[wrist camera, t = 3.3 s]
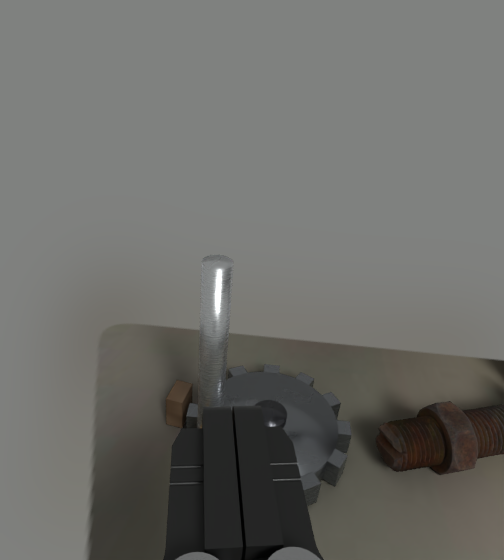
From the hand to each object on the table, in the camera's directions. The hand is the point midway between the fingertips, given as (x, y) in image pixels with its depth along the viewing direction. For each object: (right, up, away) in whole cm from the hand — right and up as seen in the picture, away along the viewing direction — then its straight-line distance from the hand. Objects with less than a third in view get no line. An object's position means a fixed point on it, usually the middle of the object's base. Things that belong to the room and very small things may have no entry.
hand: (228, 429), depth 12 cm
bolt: (+17, -9, +21) cm, 28 cm away
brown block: (-5, -6, +22) cm, 23 cm away
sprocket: (+2, -7, +20) cm, 22 cm away
